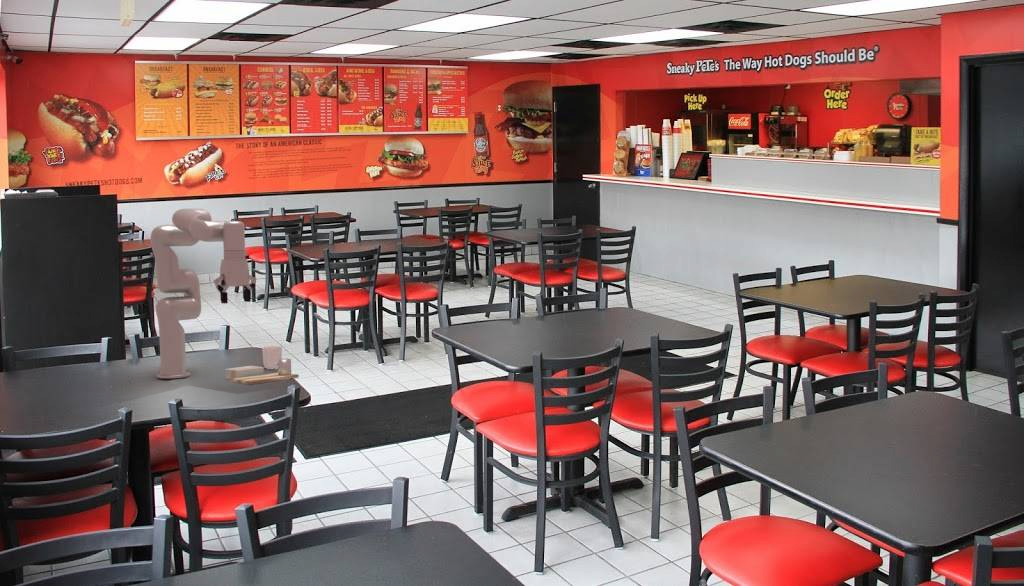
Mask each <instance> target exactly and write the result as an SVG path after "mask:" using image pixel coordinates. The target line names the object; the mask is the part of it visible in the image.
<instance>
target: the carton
mask: <svg viewBox="0 0 1024 586" xmlns="http://www.w3.org/2000/svg"><path fill="white" fill-rule="evenodd" d="M262 374H265V371H264V366H257V365H245V366H239V367H231V368H224V379H225V380H229V381H232V379H234V378H241V377H248V376H255V375H262Z"/></svg>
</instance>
